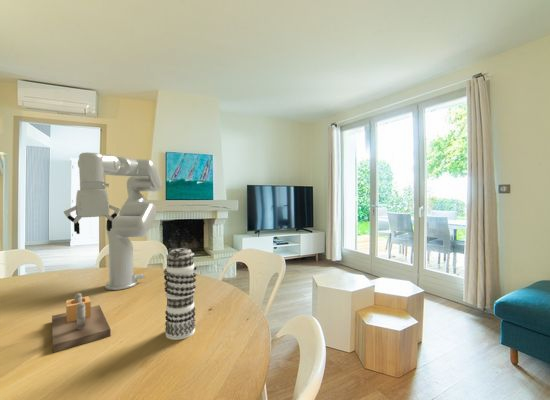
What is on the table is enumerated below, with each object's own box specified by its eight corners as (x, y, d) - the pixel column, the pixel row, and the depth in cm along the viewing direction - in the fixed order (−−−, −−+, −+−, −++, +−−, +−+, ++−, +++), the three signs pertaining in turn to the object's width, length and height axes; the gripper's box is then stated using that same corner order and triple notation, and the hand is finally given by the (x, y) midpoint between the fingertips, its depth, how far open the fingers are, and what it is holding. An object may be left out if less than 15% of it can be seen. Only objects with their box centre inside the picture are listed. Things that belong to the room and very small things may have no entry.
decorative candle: (171, 324, 85) (171, 246, 85) (200, 325, 85) (200, 246, 85) (158, 340, 76) (157, 252, 76) (190, 340, 76) (190, 253, 76)
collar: (88, 310, 91) (88, 296, 91) (90, 317, 86) (90, 301, 86) (66, 315, 87) (66, 300, 87) (67, 322, 82) (66, 306, 82)
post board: (99, 310, 95) (99, 284, 95) (110, 335, 78) (110, 303, 78) (51, 321, 87) (51, 292, 87) (52, 352, 70) (52, 316, 70)
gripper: (116, 186, 108) (117, 228, 109) (62, 186, 97) (64, 233, 98) (120, 186, 102) (122, 230, 103) (63, 186, 91) (65, 236, 92)
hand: (93, 232), depth 101 cm, fingers open, 9 cm apart
